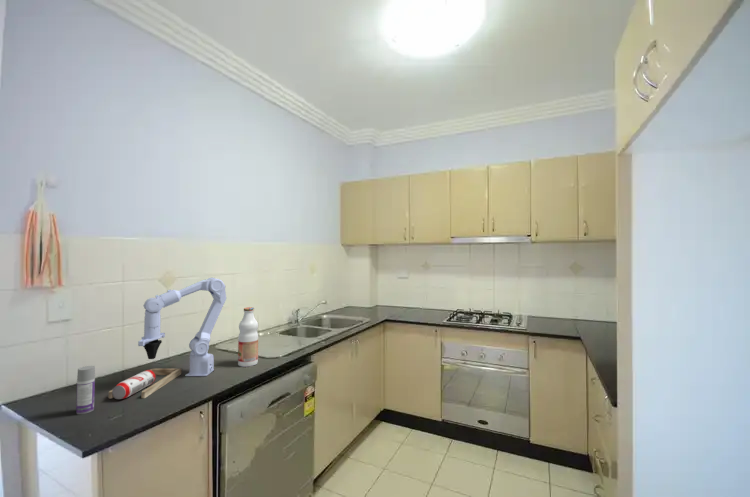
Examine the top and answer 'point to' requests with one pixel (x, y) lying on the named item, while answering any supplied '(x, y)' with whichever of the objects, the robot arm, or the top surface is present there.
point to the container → (85, 389)
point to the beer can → (133, 384)
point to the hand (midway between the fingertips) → (151, 358)
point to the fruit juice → (248, 339)
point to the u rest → (171, 375)
